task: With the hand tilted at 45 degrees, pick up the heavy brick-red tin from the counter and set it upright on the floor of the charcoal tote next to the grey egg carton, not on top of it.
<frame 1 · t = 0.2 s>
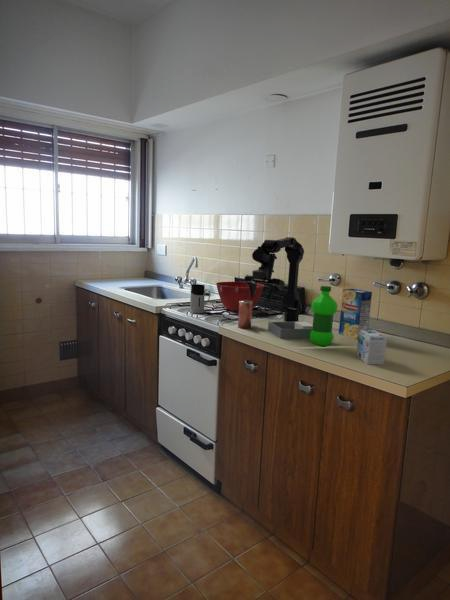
hand: (260, 299, 195), 15 cm above the countertop, tool tilted 15°, fingers open, 9 cm apart
grey handled cylinder: (200, 312, 237), on the countertop
plastic bottle: (320, 345, 178), on the countertop
blue food box: (352, 338, 195), on the countertop
egg carton: (304, 333, 194), point 1 cm above the countertop, touching tote
tin can: (244, 327, 205), on the countertop
tote: (294, 335, 192), on the countertop
light bulb box: (369, 360, 160), on the countertop
mixing bowl: (238, 309, 251), on the countertop
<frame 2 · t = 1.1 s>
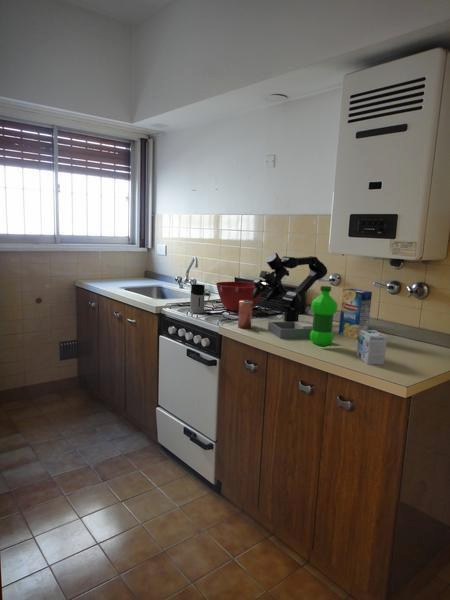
hand: (259, 299, 208), 13 cm above the countertop, tool tilted 45°, fingers open, 9 cm apart
nothing on the countertop moved.
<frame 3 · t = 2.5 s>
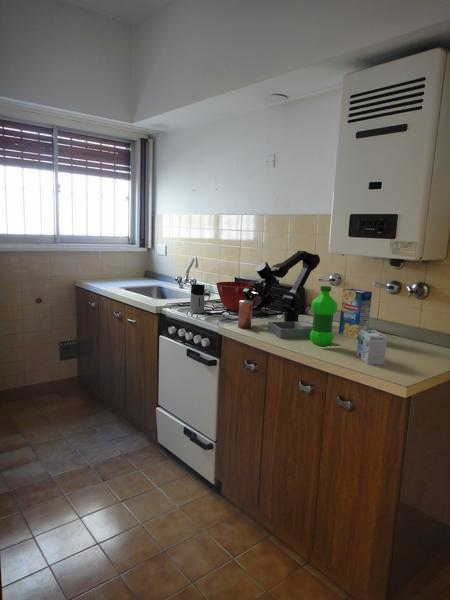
hand: (248, 308, 204), 9 cm above the countertop, tool tilted 45°, fingers open, 9 cm apart
nothing on the countertop moved.
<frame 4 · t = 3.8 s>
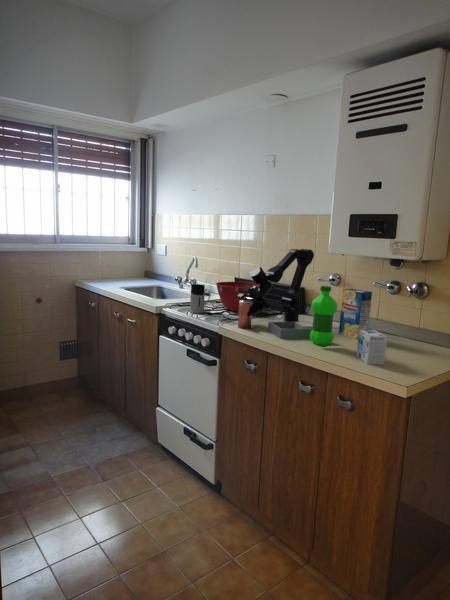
hand: (243, 314, 203), 7 cm above the countertop, tool tilted 45°, fingers closed on tin can, 6 cm apart
tin can: (244, 327, 205), on the countertop, touching gripper
everything else where it was.
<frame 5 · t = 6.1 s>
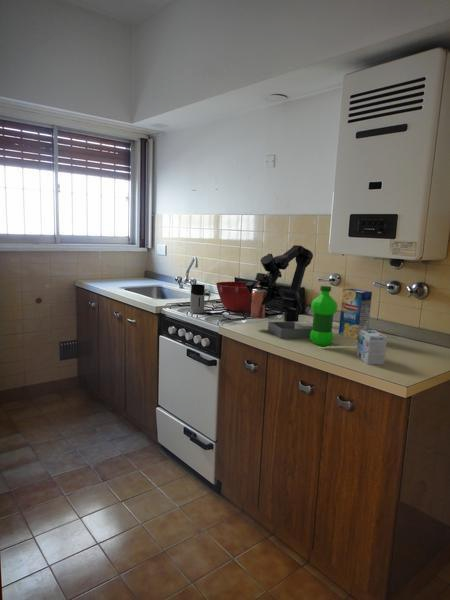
hand: (256, 303, 195), 13 cm above the countertop, tool tilted 45°, fingers closed on tin can, 6 cm apart
tin can: (257, 316, 198), point 7 cm above the countertop, touching gripper
everything else where it was.
when the fingers open (9 cm above the countertop, at t = 8.5 s): tin can drops 1 cm, resting on tote.
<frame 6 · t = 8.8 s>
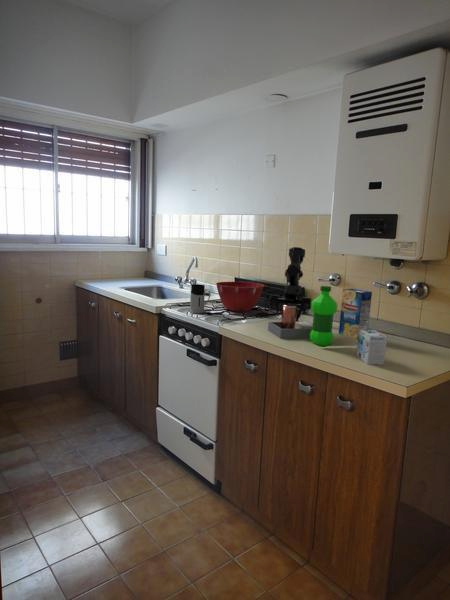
hand: (288, 317, 189), 9 cm above the countertop, tool tilted 45°, fingers open, 9 cm apart
tin can: (287, 333, 191), point 1 cm above the countertop, touching tote
everything else where it was.
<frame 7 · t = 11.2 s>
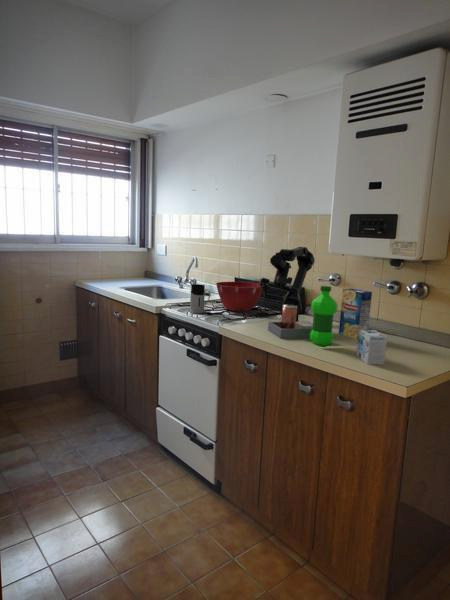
hand: (273, 303, 204), 12 cm above the countertop, tool tilted 25°, fingers open, 9 cm apart
nothing on the countertop moved.
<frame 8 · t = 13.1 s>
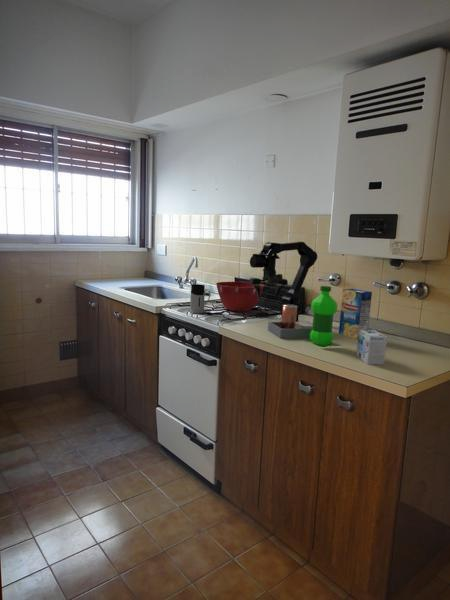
hand: (267, 298, 214), 13 cm above the countertop, tool pointing down, fingers open, 9 cm apart
nothing on the countertop moved.
at the end: tin can inside the target area on the tote (0.9 cm from its centre), point 1.1 cm above the tote's base; tin can tilted 1°; egg carton moved 0.0 cm from its start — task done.
